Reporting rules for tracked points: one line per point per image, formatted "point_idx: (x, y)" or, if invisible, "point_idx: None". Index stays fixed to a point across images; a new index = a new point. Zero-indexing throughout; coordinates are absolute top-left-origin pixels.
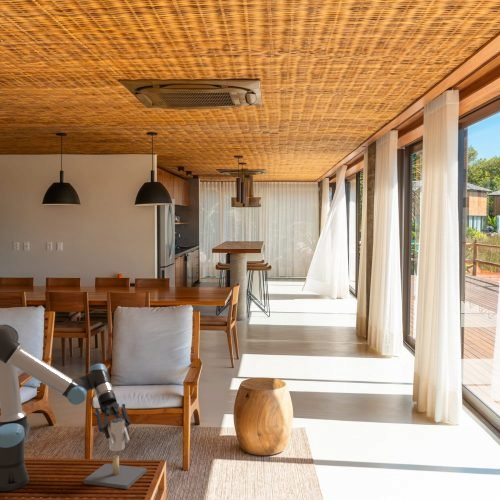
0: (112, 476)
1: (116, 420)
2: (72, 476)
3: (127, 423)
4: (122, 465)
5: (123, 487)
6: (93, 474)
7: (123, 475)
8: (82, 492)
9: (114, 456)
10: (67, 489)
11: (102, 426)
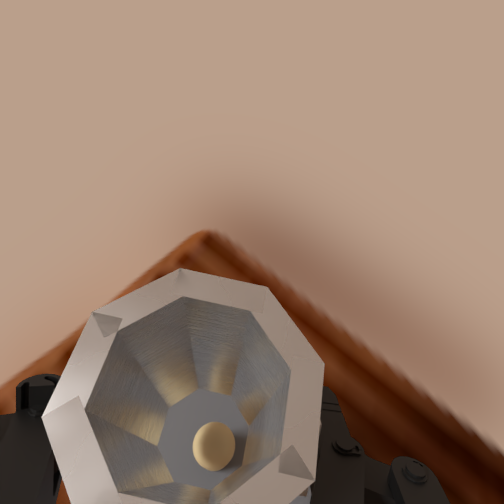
0: (244, 431)
1: (142, 495)
2: None
3: (24, 385)
4: None
5: None
6: None
7: (196, 402)
8: (400, 405)
9: (228, 436)
10: (459, 491)
11: (409, 489)
